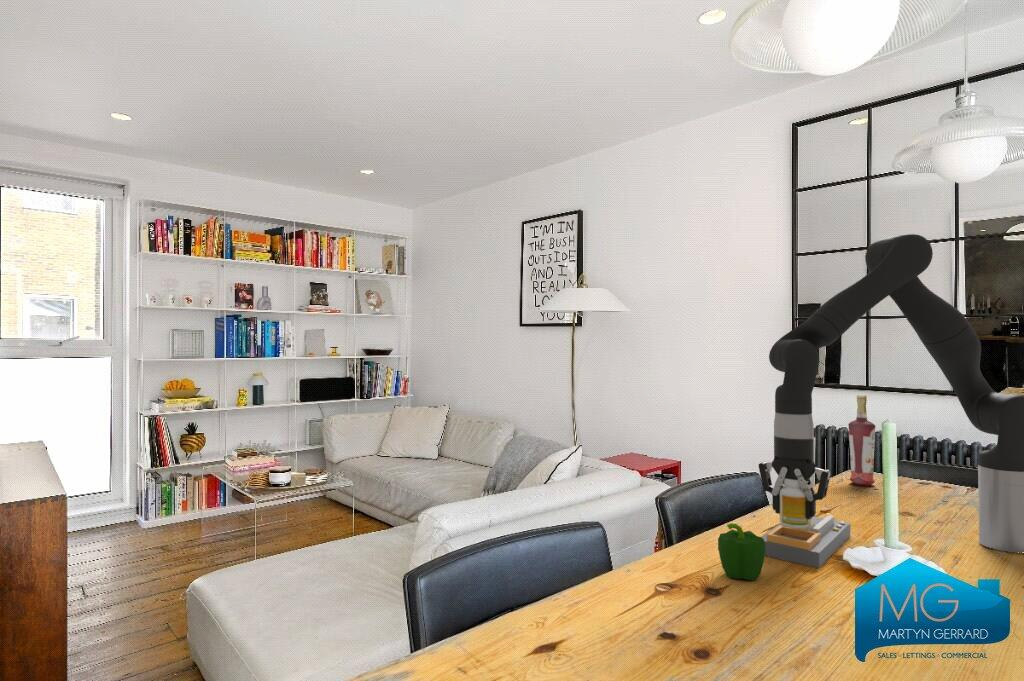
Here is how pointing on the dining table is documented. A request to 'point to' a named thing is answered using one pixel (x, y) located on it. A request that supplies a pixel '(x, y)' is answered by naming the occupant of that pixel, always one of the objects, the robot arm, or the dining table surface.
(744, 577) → the bell pepper
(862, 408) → the liquor
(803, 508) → the supplement bottle
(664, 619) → the dining table surface
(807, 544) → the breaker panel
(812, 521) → the handle
